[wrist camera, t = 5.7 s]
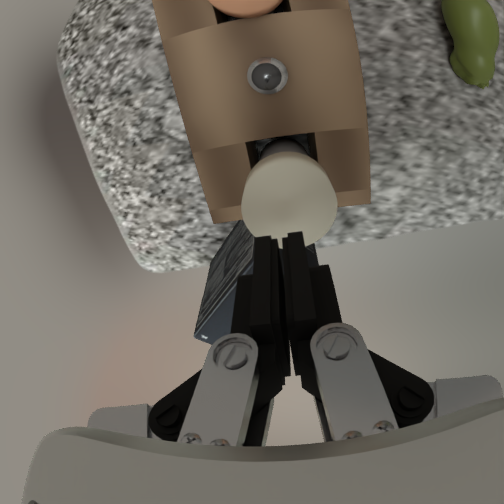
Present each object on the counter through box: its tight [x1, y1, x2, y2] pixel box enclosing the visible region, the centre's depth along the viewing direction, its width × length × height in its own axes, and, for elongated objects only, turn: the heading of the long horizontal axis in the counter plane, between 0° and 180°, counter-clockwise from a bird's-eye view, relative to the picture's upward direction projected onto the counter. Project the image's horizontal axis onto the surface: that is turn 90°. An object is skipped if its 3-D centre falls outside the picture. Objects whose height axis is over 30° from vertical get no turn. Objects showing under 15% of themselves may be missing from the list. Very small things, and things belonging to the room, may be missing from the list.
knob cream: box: [241, 138, 337, 249], centre depth 17 cm, size 5×5×8 cm
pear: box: [441, 0, 499, 89], centre depth 13 cm, size 6×5×10 cm
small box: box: [194, 220, 319, 345], centre depth 26 cm, size 11×6×10 cm, turn 149°
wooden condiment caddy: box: [152, 0, 371, 224], centre depth 17 cm, size 12×20×6 cm, turn 12°
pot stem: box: [247, 57, 288, 94], centre depth 13 cm, size 2×2×5 cm
